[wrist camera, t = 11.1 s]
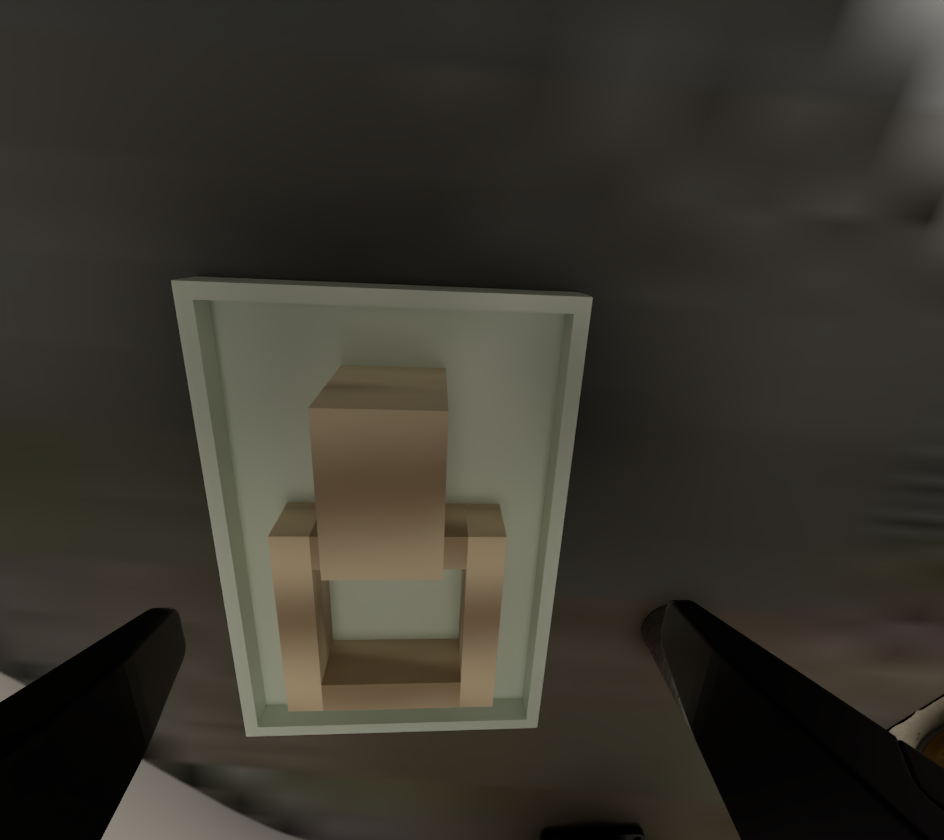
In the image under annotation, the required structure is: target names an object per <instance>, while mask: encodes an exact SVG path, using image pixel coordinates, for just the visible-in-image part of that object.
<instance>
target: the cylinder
mask: <svg viewBox="0 0 944 840" xmlns="http://www.w3.org/2000/svg"><path fill="white" fill-rule="evenodd" d="M666 607H667V605H666V606H663V607H661V608H659V609H657V610H655V611H654V612H652V613H651V614H650V615H649V616H648V617H647V619H646V620H645V622H644V624H643V626H642V637H643V639H644V641H645V643H646V645H647V647H648V649H649V651H650V653H651V655H652V657H653V659H654V661H655V663H656V665H657V666H658V668H659V670H660V672H661V674H662V676H663V678H664V680H665V682H666V684H667V686H668V688H669V690H670V692H671V694H672V696H673V698H674V700H675V702H676V704H677V705H678V707H679V709H680V711H681V713H682V715H683V717H684V719H685V721H686V723H687V725H688V727H689V729H690V731H691V728H690V726H689V723H688V720H687V718H686V715H685V712H684V709H683V706H682V703H681V700H680V698H679V695H678V692H677V689H676V686H675V683H674V680H673V677H672V674H671V672H670V669H669V666H668V663H667V660H666V657H665V654H664V651H663V648H662V645H661V630H662V626H663V621H664V617H665V612H666ZM691 733H692V731H691ZM692 735H693V733H692ZM693 737H694V735H693ZM694 739H695V738H694ZM695 741H696V740H695Z"/></svg>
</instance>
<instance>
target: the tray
mask: <svg viewBox="0 0 944 840" xmlns="http://www.w3.org/2000/svg"><path fill="white" fill-rule="evenodd" d="M171 284H172V290H173V296H174V302H175V308H176V314H177V320H178V327H179V333H180V339H181V345H182V351H183V357H184V363H185V369H186V375H187V381H188V387H189V393H190V399H191V405H192V411H193V417H194V423H195V429H196V435H197V441H198V447H199V453H200V459H201V466H202V472H203V478H204V484H205V490H206V496H207V502H208V508H209V514H210V520H211V526H212V532H213V538H214V544H215V550H216V556H217V562H218V568H219V574H220V580H221V586H222V592H223V599H224V605H225V611H226V617H227V623H228V629H229V635H230V641H231V647H232V653H233V659H234V665H235V671H236V677H237V683H238V689H239V695H240V701H241V707H242V713H243V719H244V725H245V731H246V737H251V736H284V735H317V734H350V733H383V732H416V731H449V730H482V729H515V728H537V725H538V717H539V709H540V702H541V694H542V686H543V678H544V671H545V663H546V655H547V647H548V640H549V632H550V624H551V617H552V609H553V601H554V593H555V586H556V578H557V570H558V563H559V555H560V547H561V539H562V532H563V524H564V516H565V508H566V501H567V493H568V485H569V478H570V470H571V462H572V454H573V447H574V439H575V431H576V423H577V416H578V408H579V400H580V393H581V385H582V377H583V369H584V362H585V354H586V346H587V338H588V331H589V323H590V315H591V308H592V300H593V297H591V296H588V295H586V294H583V293H580V292H568V291H543V290H519V289H495V288H470V287H446V286H421V285H397V284H373V283H348V282H324V281H299V280H275V279H251V278H226V277H202V276H195V277H189V278H182V279H176V280H171ZM341 365H354V366H388V367H422V368H446V380H447V397H448V438H447V469H446V501H445V504H499V505H500V509H501V513H502V518H503V522H504V526H505V531H506V535H507V542H506V554H505V566H504V578H503V589H502V601H501V613H500V625H499V637H498V648H497V660H496V672H495V684H494V696H493V707H454V708H415V709H376V710H337V711H297V712H288V705H287V696H286V688H285V679H284V671H283V662H282V654H281V645H280V637H279V628H278V619H277V611H276V602H275V594H274V585H273V577H272V568H271V560H270V551H269V543H268V535H269V533H270V532H271V530H272V528H273V526H274V525H275V523H276V521H277V519H278V518H279V516H280V514H281V512H282V511H283V509H284V507H285V505H286V504H287V502H311V503H315V493H314V480H313V466H312V453H311V440H310V426H309V413H308V407H309V406H310V405H311V404H312V402H313V401H314V400H315V398H316V397H317V396H318V394H319V393H320V392H321V391H322V389H323V388H324V387H325V385H326V384H327V383H328V381H329V380H330V379H331V377H332V376H333V375H334V374H335V372H336V371H337V370H338V368H339V367H340V366H341ZM461 576H462V569H443V580H329V589H330V603H331V618H332V633H333V640H385V639H455V638H459V617H460V596H461Z"/></svg>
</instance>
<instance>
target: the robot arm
mask: <svg viewBox="0 0 944 840" xmlns="http://www.w3.org/2000/svg"><path fill="white" fill-rule="evenodd" d="M661 645H662V648H663V651H664V654H665V657H666V660H667V663H668V666H669V669H670V672H671V674H672V677H673V680H674V683H675V686H676V689H677V692H678V695H679V698H680V700H681V703H682V706H683V709H684V712H685V715H686V718H687V720H688V723H689V726H690V728H691V731H692V733H693V735H694V738H695V740H696V742H697V744H698V747H699V749H700V751H701V753H702V755H703V758H704V760H705V762H706V764H707V766H708V769H709V771H710V773H711V775H712V777H713V779H714V782H715V784H716V786H717V788H718V790H719V793H720V795H721V797H722V799H723V801H724V803H725V806H726V808H727V810H728V812H729V814H730V817H731V819H732V821H733V823H734V825H735V828H736V830H737V832H738V834H739V836H740V838H741V840H944V768H943V767H942V766H940V765H939V764H937V763H935V762H934V761H932V760H931V759H929V758H928V757H926V756H925V755H923V754H922V753H920V752H919V751H917V750H916V749H914V748H913V747H911V746H910V745H908V744H907V743H905V742H904V741H902V740H897V738H896V736H895V735H893V734H892V733H890V732H889V731H887V730H886V729H884V728H883V727H881V726H880V725H878V724H877V723H875V722H874V721H872V720H871V719H869V718H868V717H866V716H865V715H863V714H862V713H860V712H859V711H857V710H856V709H854V708H853V707H851V706H850V705H848V704H847V703H845V702H844V701H842V700H841V699H839V698H838V697H836V696H835V695H833V694H832V693H830V692H829V691H827V690H826V689H824V688H823V687H821V686H820V685H818V684H817V683H815V682H814V681H812V680H810V679H809V678H807V677H806V676H804V675H803V674H801V673H800V672H798V671H797V670H795V669H794V668H792V667H791V666H789V665H788V664H786V663H785V662H783V661H782V660H780V659H779V658H777V657H776V656H774V655H773V654H771V653H770V652H768V651H767V650H765V649H764V648H762V647H761V646H759V645H758V644H756V643H755V642H753V641H752V640H750V639H749V638H747V637H746V636H744V635H743V634H741V633H740V632H738V631H737V630H735V629H734V628H732V627H731V626H729V625H728V624H726V623H725V622H723V621H722V620H720V619H719V618H717V617H716V616H714V615H713V614H711V613H710V612H708V611H707V610H705V609H704V608H702V607H701V606H699V605H698V604H696V603H695V602H693V601H690V600H672V601H670V602H669V603H668V605H667V607H666V612H665V617H664V621H663V626H662V630H661ZM185 651H186V642H185V637H184V632H183V628H182V623H181V618H180V614H179V612H178V610H177V609H175V608H152V609H149V610H147V611H146V612H144V613H142V614H141V615H139V616H138V617H136V618H134V619H133V620H131V621H130V622H128V623H126V624H125V625H123V626H122V627H120V628H118V629H117V630H115V631H114V632H112V633H110V634H109V635H107V636H106V637H104V638H102V639H101V640H99V641H98V642H96V643H94V644H93V645H91V646H90V647H88V648H86V649H85V650H83V651H82V652H80V653H78V654H77V655H75V656H74V657H72V658H70V659H69V660H67V661H66V662H64V663H62V664H61V665H59V666H58V667H56V668H54V669H53V670H51V671H50V672H48V673H46V674H45V675H43V676H42V677H40V678H39V679H37V680H35V681H34V682H32V683H31V684H29V685H27V686H26V687H24V688H23V689H21V690H20V691H18V692H16V693H15V694H13V695H11V696H10V697H8V698H7V699H5V700H3V701H2V702H0V840H101V838H102V836H103V834H104V832H105V830H106V828H107V827H108V824H109V822H110V820H111V819H112V817H113V815H114V813H115V811H116V809H117V807H118V805H119V803H120V801H121V799H122V797H123V795H124V793H125V791H126V790H127V788H128V786H129V784H130V782H131V780H132V778H133V776H134V774H135V772H136V770H137V768H138V766H139V764H140V762H141V760H142V758H143V756H144V754H145V752H146V750H147V748H148V745H149V743H150V741H151V738H152V736H153V734H154V731H155V729H156V726H157V724H158V721H159V719H160V716H161V714H162V711H163V709H164V706H165V704H166V701H167V699H168V696H169V694H170V691H171V689H172V686H173V684H174V681H175V679H176V676H177V674H178V671H179V669H180V666H181V664H182V661H183V659H184V655H185ZM541 840H645V836H644V833H643V830H642V829H641V828H640V827H623V828H602V829H581V830H559V831H547V832H544V833H543V834H542V835H541Z"/></svg>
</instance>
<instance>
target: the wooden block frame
mask: <svg viewBox="0 0 944 840" xmlns="http://www.w3.org/2000/svg"><path fill="white" fill-rule="evenodd" d="M308 413H309V426H310V440H311V453H312V466H313V480H314V493H315V503H311V502H287V504H286V505H285V507H284V509H283V511H282V512H281V514H280V516H279V518H278V519H277V521H276V523H275V525H274V526H273V528H272V530H271V532H270V533H269V535H268V543H269V551H270V560H271V568H272V577H273V585H274V594H275V602H276V611H277V619H278V628H279V637H280V645H281V654H282V662H283V671H284V679H285V688H286V696H287V705H288V712H297V711H337V710H376V709H415V708H454V707H493V696H494V684H495V672H496V660H497V648H498V637H499V625H500V613H501V601H502V589H503V578H504V566H505V554H506V542H507V535H506V531H505V526H504V522H503V518H502V513H501V509H500V505H499V504H445V501H446V469H447V438H448V397H447V380H446V368H422V367H388V366H354V365H341V366H340V367H339V368H338V370H337V371H336V372H335V374H334V375H333V376H332V377H331V379H330V380H329V381H328V383H327V384H326V385H325V387H324V388H323V389H322V391H321V392H320V393H319V394H318V396H317V397H316V398H315V400H314V401H313V402H312V404H311V405H310V406H309V407H308ZM443 569H462V576H461V596H460V617H459V638H455V639H385V640H333V633H332V618H331V603H330V589H329V580H443Z"/></svg>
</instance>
